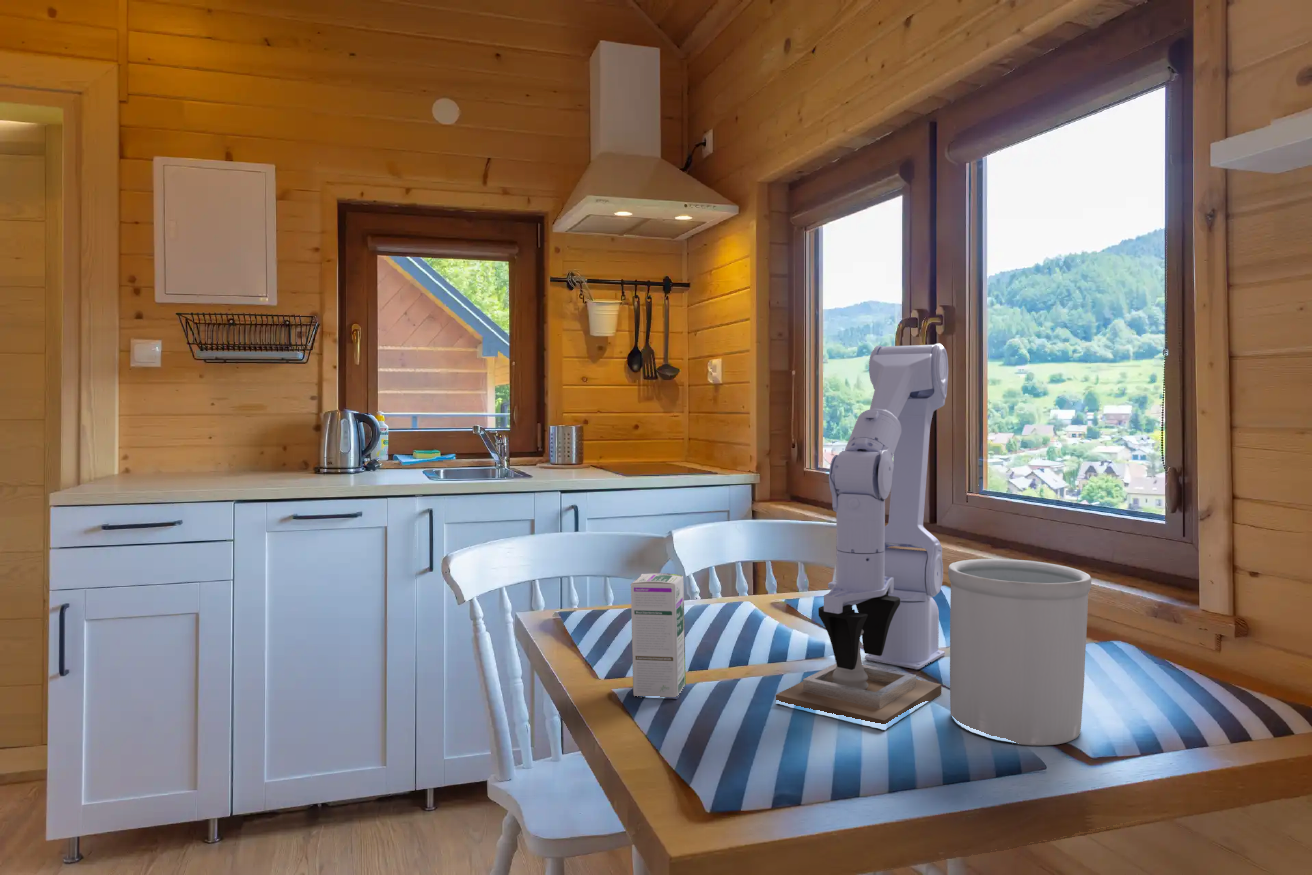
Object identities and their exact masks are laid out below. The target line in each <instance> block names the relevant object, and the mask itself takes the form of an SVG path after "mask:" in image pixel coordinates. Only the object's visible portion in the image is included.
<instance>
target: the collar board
mask: <svg viewBox="0 0 1312 875" xmlns="http://www.w3.org/2000/svg"><path fill="white" fill-rule="evenodd" d="M862 665H863V667H864V671H865V672H866V673H867V675H868V679H867V681H866V682H867V683H868V684H869V685H868V687H867V689H866V690H863V689H859V688H854V687H849V686H845V685H840V684H836V683H832V681H833V680H835V679H834V678H833V677H832V675H833V672H834V671H835V670H836V666H837V664H836V663H834V664H832V665H830V666H828V667H826V668H824V669H821V670H819V671H817V672H815V673H813V674H811V675H809V676H807V677H805V678H803V679H802V681H801V682H799V683H797V684H794V685H792V686H791V687H788V688H786V689H784V690H782V691H781V692H778V693H776V694H775V701H776V700H779V701H781V702H785V703H788V704H794V705H796V706H801V707H804V708H809V709H810V708H811V709H813V710H820V711H824V712H827V713H832V714H833V713H834V714H836V715H844V716H846V717H852V718H855V719H861V720H865V721H870V722H875V723H881V724H886V723H888V722H889V721H891V720H892V719H894V718H895V717H898V715H901V714H902V713H904V712H906V711H907V710H909V709H911V708H913V707H914V706H916V705H918V704H920V703H922V702H925V701H929V702H928V703H930V702H931V701H933V700H934V699H936V698H937V697H939V696H941V695H942V683H937V682H933V681H927V680H922V679H918V678H917V674H911V673H907V672H902V671H897V670H892V669H888V668H882V667H878V666H872V665H867V664H863V663H862Z"/></svg>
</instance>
